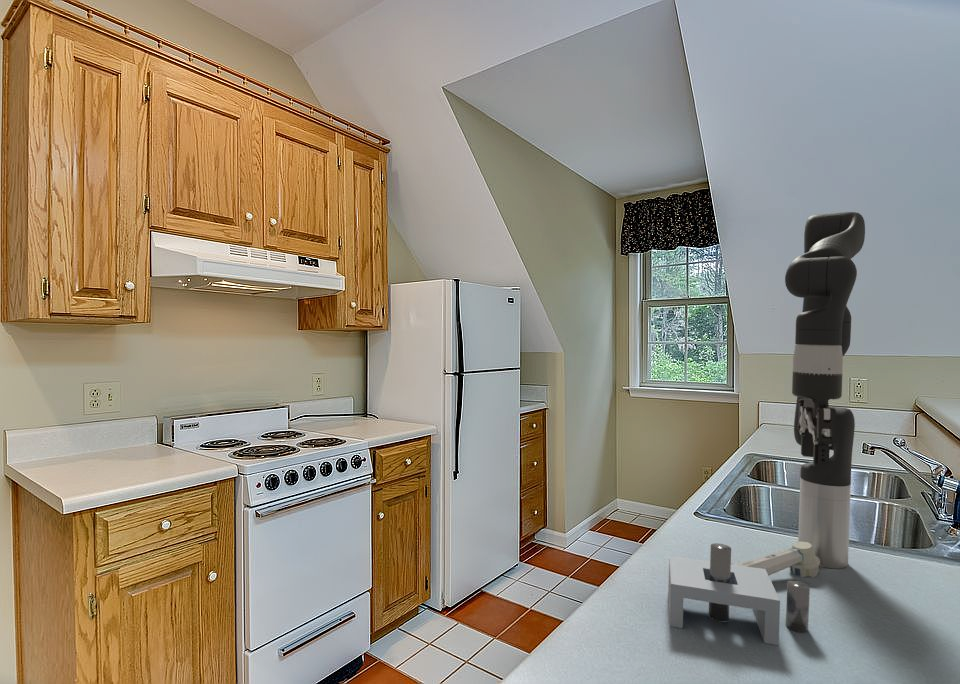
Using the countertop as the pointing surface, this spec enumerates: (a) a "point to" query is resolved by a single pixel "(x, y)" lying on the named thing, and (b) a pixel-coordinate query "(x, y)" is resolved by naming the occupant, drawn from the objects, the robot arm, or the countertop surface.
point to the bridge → (724, 592)
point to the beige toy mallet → (789, 561)
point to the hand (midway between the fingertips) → (814, 461)
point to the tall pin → (720, 578)
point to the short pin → (797, 606)
